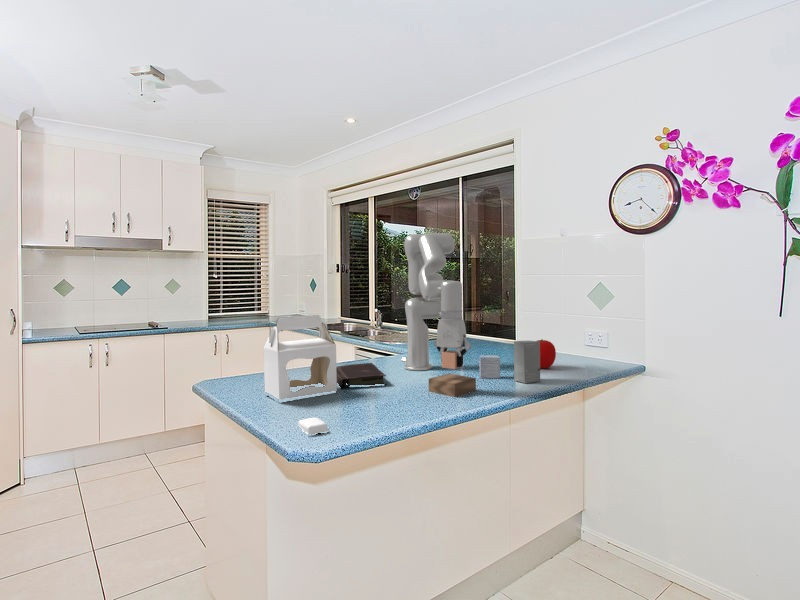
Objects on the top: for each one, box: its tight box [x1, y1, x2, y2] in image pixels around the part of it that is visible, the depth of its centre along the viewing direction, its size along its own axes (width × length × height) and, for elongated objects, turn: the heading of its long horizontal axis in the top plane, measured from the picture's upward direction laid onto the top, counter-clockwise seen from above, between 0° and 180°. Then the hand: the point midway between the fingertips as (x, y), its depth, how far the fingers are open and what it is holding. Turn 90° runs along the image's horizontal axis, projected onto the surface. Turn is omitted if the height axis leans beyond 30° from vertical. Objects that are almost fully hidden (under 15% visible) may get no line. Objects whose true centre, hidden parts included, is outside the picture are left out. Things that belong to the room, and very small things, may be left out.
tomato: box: [536, 338, 557, 369], centre depth 212 cm, size 11×11×13 cm
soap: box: [297, 416, 330, 434], centre depth 132 cm, size 9×7×3 cm
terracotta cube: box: [440, 349, 464, 370], centre depth 173 cm, size 6×6×6 cm
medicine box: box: [479, 355, 501, 379], centre depth 195 cm, size 8×4×9 cm, turn 84°
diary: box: [336, 362, 387, 388], centre depth 192 cm, size 19×25×5 cm
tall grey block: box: [513, 340, 541, 384], centre depth 187 cm, size 8×7×16 cm
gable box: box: [263, 314, 338, 399], centre depth 171 cm, size 22×13×28 cm, turn 126°
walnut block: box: [428, 373, 477, 398], centre depth 173 cm, size 12×12×5 cm
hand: (452, 365), depth 173 cm, fingers closed on terracotta cube, 5 cm apart
